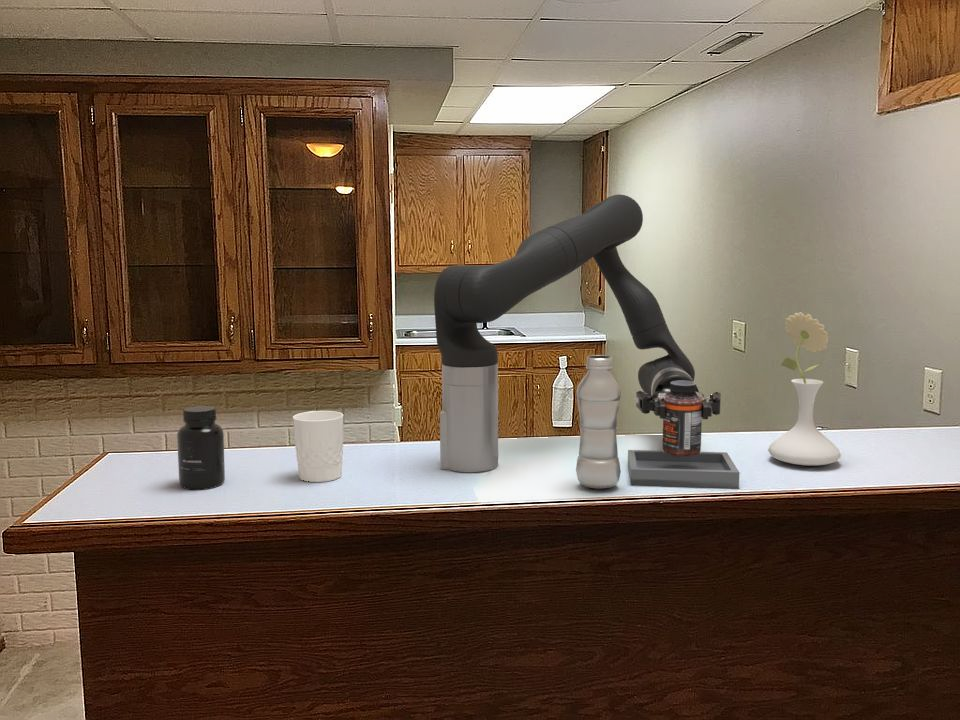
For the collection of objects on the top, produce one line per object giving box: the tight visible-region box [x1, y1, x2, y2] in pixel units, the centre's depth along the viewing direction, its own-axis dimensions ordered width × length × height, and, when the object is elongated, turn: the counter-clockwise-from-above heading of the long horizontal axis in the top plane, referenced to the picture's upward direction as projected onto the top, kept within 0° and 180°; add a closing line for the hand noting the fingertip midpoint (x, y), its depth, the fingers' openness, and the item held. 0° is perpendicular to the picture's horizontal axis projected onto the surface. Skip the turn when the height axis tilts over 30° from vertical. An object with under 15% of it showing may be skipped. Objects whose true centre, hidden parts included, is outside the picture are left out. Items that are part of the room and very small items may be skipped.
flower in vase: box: [767, 311, 842, 466], centre depth 139 cm, size 13×11×25 cm
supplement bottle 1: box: [176, 405, 226, 490], centre depth 129 cm, size 7×7×12 cm
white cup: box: [292, 410, 345, 483], centre depth 133 cm, size 8×8×10 cm
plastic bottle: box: [575, 354, 622, 489], centre depth 125 cm, size 6×7×20 cm
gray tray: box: [627, 449, 740, 490], centre depth 132 cm, size 16×12×2 cm
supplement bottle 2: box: [662, 380, 703, 456], centre depth 131 cm, size 6×6×11 cm
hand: (684, 412), depth 129 cm, fingers closed on supplement bottle 2, 6 cm apart
